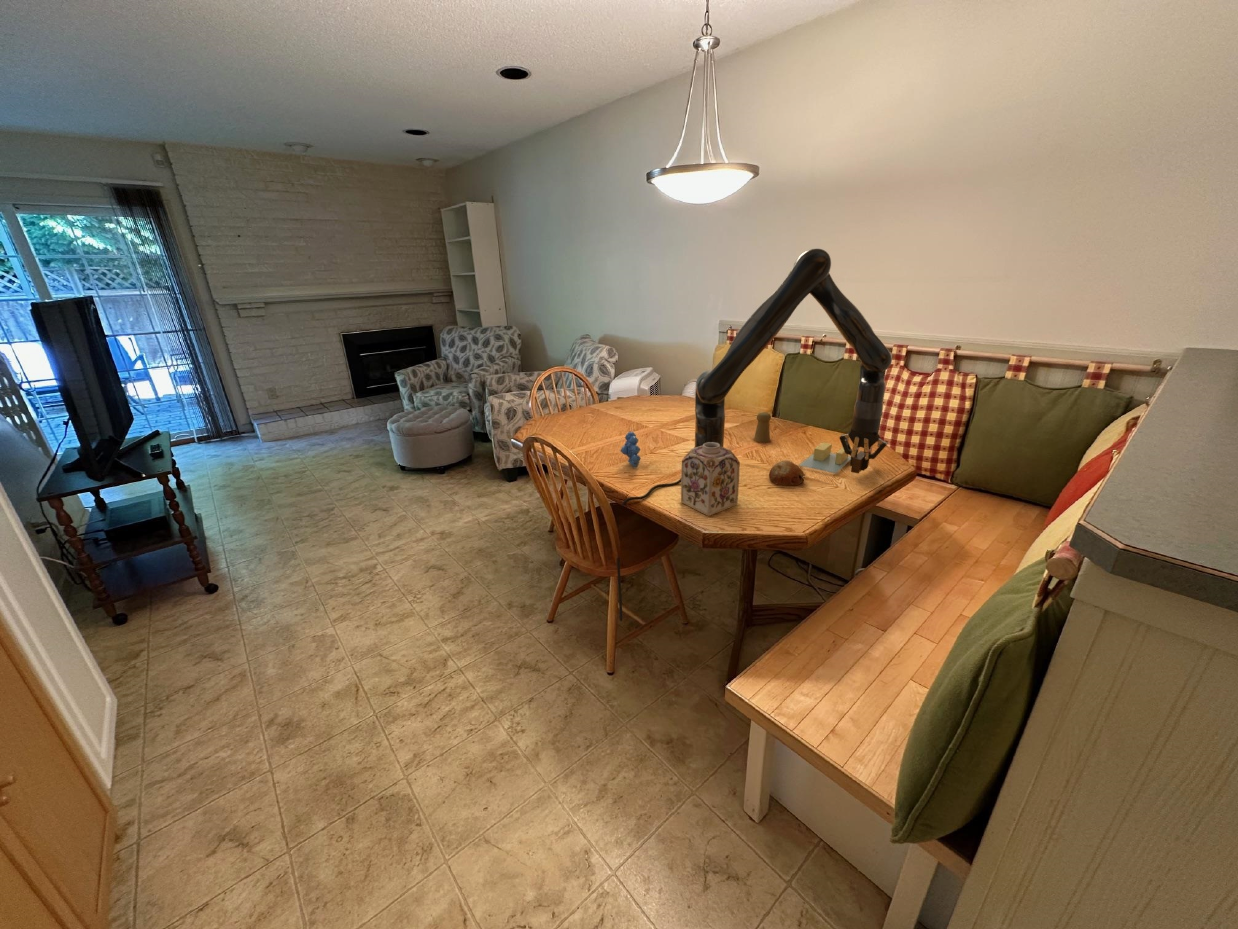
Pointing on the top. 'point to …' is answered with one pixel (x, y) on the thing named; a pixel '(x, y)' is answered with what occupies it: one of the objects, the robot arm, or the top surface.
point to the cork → (762, 428)
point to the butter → (822, 451)
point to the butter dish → (824, 463)
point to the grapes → (631, 449)
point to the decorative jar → (710, 478)
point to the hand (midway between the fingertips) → (858, 468)
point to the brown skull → (786, 474)
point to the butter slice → (841, 456)
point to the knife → (858, 462)
